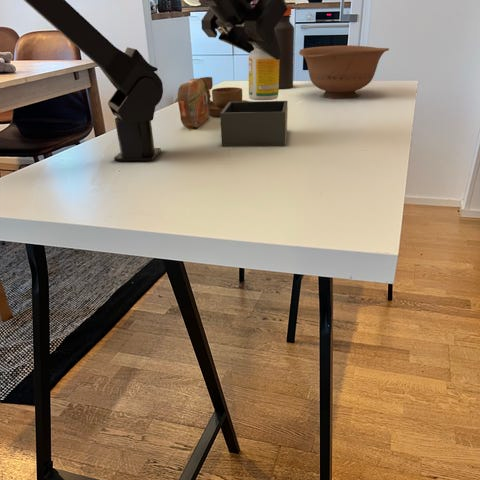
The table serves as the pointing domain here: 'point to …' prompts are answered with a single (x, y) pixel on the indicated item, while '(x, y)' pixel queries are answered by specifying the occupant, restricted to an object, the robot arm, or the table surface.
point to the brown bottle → (285, 50)
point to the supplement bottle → (263, 76)
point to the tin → (193, 102)
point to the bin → (254, 123)
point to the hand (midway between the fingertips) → (270, 56)
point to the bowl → (342, 68)
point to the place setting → (222, 97)
